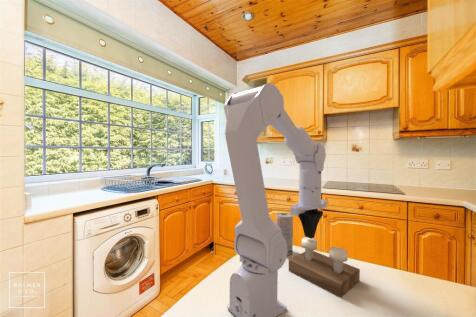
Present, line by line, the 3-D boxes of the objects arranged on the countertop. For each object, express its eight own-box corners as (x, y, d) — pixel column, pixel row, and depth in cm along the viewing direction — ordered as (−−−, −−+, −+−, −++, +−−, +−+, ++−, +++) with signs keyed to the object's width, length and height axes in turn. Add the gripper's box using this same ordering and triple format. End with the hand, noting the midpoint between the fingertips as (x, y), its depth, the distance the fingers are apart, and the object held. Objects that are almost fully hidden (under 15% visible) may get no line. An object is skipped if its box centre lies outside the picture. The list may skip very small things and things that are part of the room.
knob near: (342, 278, 49) (342, 255, 49) (326, 270, 53) (326, 249, 52) (350, 272, 52) (350, 251, 52) (334, 265, 55) (334, 245, 55)
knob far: (311, 264, 56) (311, 244, 56) (298, 258, 59) (298, 239, 59) (319, 259, 58) (320, 240, 58) (306, 254, 61) (307, 236, 61)
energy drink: (291, 248, 71) (291, 212, 71) (293, 256, 66) (294, 217, 66) (274, 247, 72) (275, 212, 72) (276, 255, 67) (276, 216, 66)
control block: (340, 297, 47) (340, 284, 47) (288, 270, 58) (288, 259, 58) (359, 281, 53) (359, 269, 53) (309, 259, 64) (309, 249, 64)
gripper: (307, 192, 50) (307, 249, 51) (337, 186, 60) (336, 235, 60) (283, 188, 56) (283, 239, 56) (314, 183, 65) (313, 228, 65)
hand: (309, 236), depth 58 cm, fingers closed
